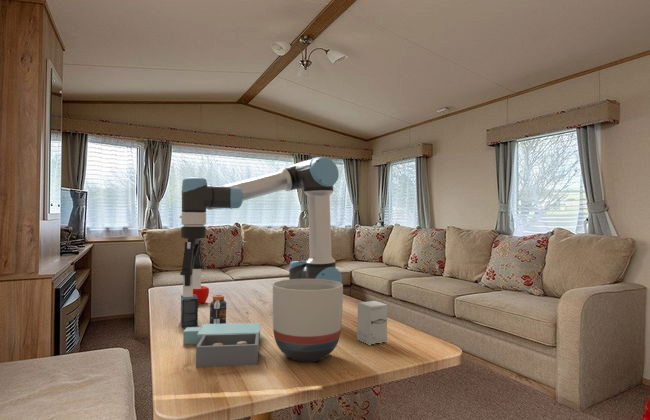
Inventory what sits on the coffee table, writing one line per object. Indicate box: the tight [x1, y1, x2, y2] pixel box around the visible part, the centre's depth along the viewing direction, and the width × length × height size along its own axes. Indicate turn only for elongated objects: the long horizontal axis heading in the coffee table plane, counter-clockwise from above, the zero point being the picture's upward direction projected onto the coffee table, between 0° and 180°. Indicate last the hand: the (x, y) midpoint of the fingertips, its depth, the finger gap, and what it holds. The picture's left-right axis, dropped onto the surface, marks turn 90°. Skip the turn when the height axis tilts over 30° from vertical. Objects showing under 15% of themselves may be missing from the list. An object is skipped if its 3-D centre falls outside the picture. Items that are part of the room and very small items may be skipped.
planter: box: [272, 279, 344, 363], centre depth 110 cm, size 20×20×21 cm
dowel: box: [237, 341, 247, 345], centre depth 107 cm, size 3×3×4 cm
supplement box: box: [356, 300, 388, 346], centre depth 126 cm, size 7×7×13 cm
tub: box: [195, 333, 260, 368], centre depth 106 cm, size 16×11×6 cm
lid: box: [182, 322, 261, 345], centre depth 121 cm, size 24×12×5 cm, turn 98°
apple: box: [193, 285, 210, 305], centre depth 180 cm, size 9×9×8 cm
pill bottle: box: [209, 294, 227, 324], centre depth 142 cm, size 6×6×11 cm
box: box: [180, 294, 199, 329], centre depth 143 cm, size 8×6×11 cm
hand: (192, 292), depth 120 cm, fingers open, 13 cm apart
